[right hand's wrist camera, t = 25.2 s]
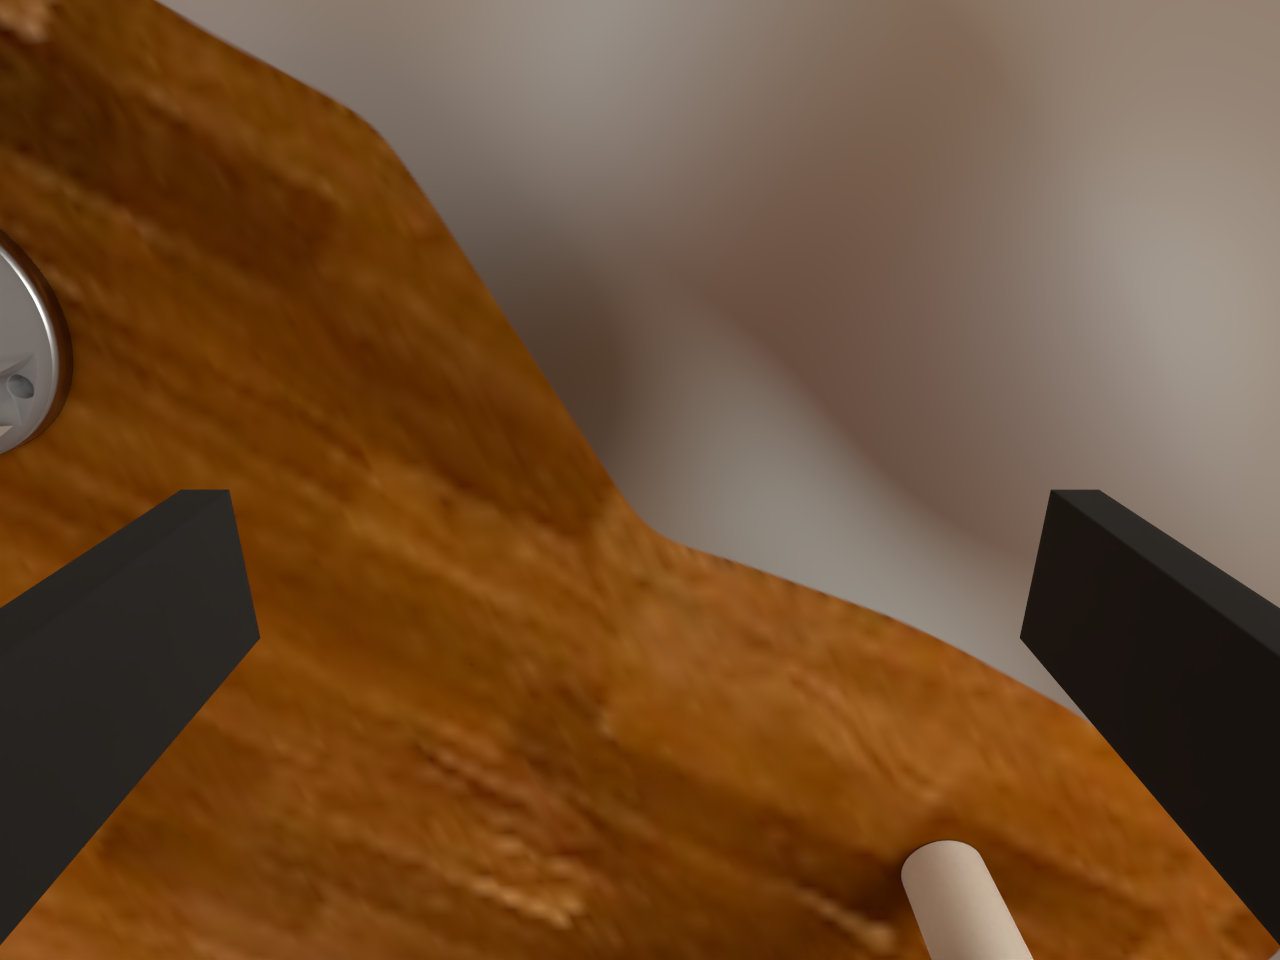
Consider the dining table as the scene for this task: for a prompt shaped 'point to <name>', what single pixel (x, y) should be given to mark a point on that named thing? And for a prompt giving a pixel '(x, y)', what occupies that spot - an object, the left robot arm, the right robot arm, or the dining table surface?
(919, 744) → the dining table surface
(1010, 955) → the canister
